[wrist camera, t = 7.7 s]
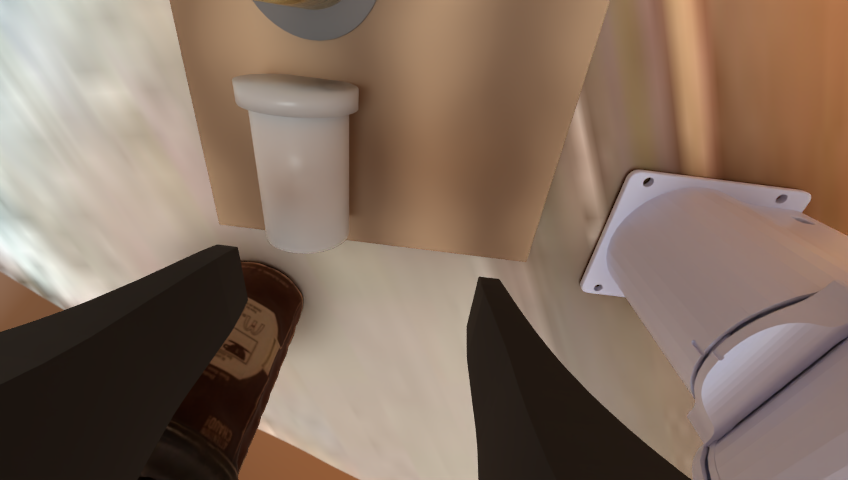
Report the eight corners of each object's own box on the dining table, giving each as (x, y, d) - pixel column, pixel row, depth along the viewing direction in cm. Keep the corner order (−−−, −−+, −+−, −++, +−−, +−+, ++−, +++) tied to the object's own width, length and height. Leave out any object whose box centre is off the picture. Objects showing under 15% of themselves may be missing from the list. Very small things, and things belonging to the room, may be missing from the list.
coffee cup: (185, 231, 22) (-89, 440, 11) (317, 251, 22) (184, 476, 11) (209, 330, 26) (35, 550, 15) (319, 345, 26) (227, 573, 15)
